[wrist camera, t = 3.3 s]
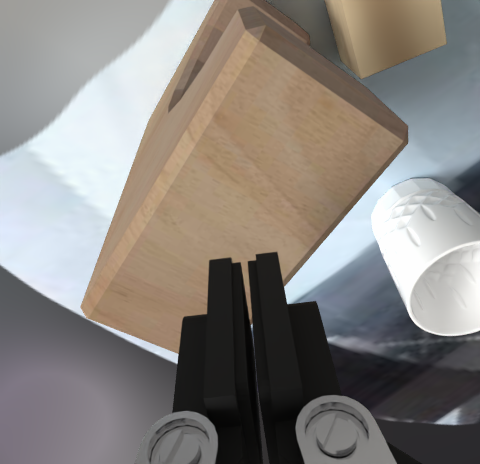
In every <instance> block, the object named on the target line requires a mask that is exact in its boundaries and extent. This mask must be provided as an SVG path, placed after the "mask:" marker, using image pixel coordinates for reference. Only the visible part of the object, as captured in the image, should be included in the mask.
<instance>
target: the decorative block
mask: <svg viewBox="0 0 480 464" xmlns="http://www.w3.org/2000/svg"><path fill="white" fill-rule="evenodd" d="M309 45H310V38H309V34H308V33H307V32H305V31H304V30H303V29H302V28H301V27H300V26H299V25H298V24H297V23H295V22H294V21H292V20H291V19H290V18H288V17H287V16H286V15H284V14H283V13H282V12H280V11H279V10H277V9H276V8H275V7H273V6H272V5H271V4H269V3H268V2H267V1H265V0H214V2H213V4H212V6H211V8H210V10H209V11H208V13H207V15H206V17H205V19H204V20H203V22H202V24H201V26H200V28H199V30H198V31H197V33H196V35H195V37H194V39H193V41H192V42H191V44H190V46H189V48H188V50H187V52H186V53H185V55H184V57H183V59H182V61H181V63H180V64H179V66H178V68H177V70H176V72H175V74H174V75H173V77H172V79H171V81H170V83H169V84H168V86H167V88H166V90H165V92H164V94H163V95H162V97H161V99H160V101H159V103H158V105H157V106H156V108H155V110H154V112H153V114H152V116H151V117H150V119H149V121H148V124H147V127H146V129H145V132H144V135H143V137H142V140H141V143H140V146H139V148H138V151H137V154H136V157H135V159H134V162H133V165H132V167H131V170H130V173H129V176H128V178H127V181H126V184H125V187H124V189H123V192H122V195H121V198H120V200H119V203H118V206H117V208H116V211H115V214H114V217H113V219H112V222H111V225H110V227H109V230H108V233H107V236H106V238H105V241H104V244H103V247H102V249H101V252H100V255H99V258H98V260H97V263H96V266H95V269H94V271H93V274H92V277H91V280H90V282H89V285H88V288H87V290H86V293H85V296H84V299H83V301H82V304H81V309H82V311H83V313H84V314H85V316H86V318H88V319H91V320H93V321H96V322H98V323H101V324H104V325H106V326H109V327H111V328H114V329H116V330H119V331H121V332H124V333H127V334H129V335H132V336H134V337H137V338H139V339H142V340H144V341H147V342H150V343H152V344H155V345H157V346H160V347H162V348H165V349H168V350H170V351H173V352H175V353H178V354H179V346H180V337H181V327H182V320H183V318H184V317H185V316H193V315H202V314H207V299H208V275H209V260H212V259H221V258H229V257H231V258H232V262H233V263H236V262H241V266H242V273H243V279H244V286H245V292H246V299H247V305H248V312H249V319H250V325H251V324H252V323H253V322H252V310H251V298H250V286H249V273H248V261H253V260H256V254H262V253H270V252H278V258H279V263H280V268H281V274H282V279H283V285H284V286H285V285H286V284H287V283H288V282H289V281H290V280H291V278H292V277H293V276H294V275H295V274H296V273H297V271H298V270H299V269H300V268H301V267H302V266H303V265H304V263H305V262H306V261H307V260H308V259H309V258H310V256H311V255H312V254H313V253H314V252H315V251H316V249H317V248H318V247H319V246H320V245H321V244H322V243H323V241H324V240H325V239H326V238H327V237H328V236H329V234H330V233H331V232H332V231H333V230H334V229H335V227H336V226H337V225H338V224H339V223H340V222H341V220H342V219H343V218H344V217H345V216H346V215H347V213H348V212H349V211H350V210H351V209H352V208H353V206H354V205H355V204H356V203H357V202H358V201H359V200H360V198H361V197H362V196H363V195H364V194H365V193H366V191H367V190H368V189H369V188H370V187H371V186H372V184H373V183H374V182H375V181H376V180H377V179H378V177H379V176H380V175H381V174H382V173H383V172H384V170H385V169H386V168H387V167H388V166H389V165H390V163H391V162H392V161H393V160H394V159H395V158H396V157H397V155H398V154H399V153H400V152H401V151H402V150H403V148H404V147H405V146H406V145H407V144H408V125H407V124H405V123H404V122H403V121H402V120H401V119H400V118H399V117H398V116H397V115H396V114H395V113H394V112H392V111H391V110H390V109H389V108H388V107H387V106H386V105H385V104H384V103H383V102H382V101H381V100H379V99H378V98H377V97H376V96H375V95H374V94H373V93H372V92H371V91H370V90H369V89H368V88H366V87H365V86H364V85H362V84H361V83H360V82H358V81H357V80H355V79H354V78H353V77H351V76H350V75H348V74H347V73H346V72H344V71H343V70H342V69H340V68H339V67H337V66H336V65H335V64H333V63H332V62H330V61H329V60H328V59H326V58H325V57H323V56H322V55H321V54H319V53H318V52H316V51H315V50H314V49H312V48H311V47H310V46H309Z"/></svg>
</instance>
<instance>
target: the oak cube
mask: <svg viewBox="0 0 480 464" xmlns="http://www.w3.org/2000/svg"><path fill="white" fill-rule="evenodd" d="M325 4H326V8H327V11H328V15H329V19H330V22H331V26H332V30H333V33H334V37H335V41H336V44H337V48H338V52H339V55H340V59H341V62H343V63H344V64H345V65H346V66H347V67H348V68H349V69H350V70H352V71H353V72H354V73H355V74H356V75H357V76H358V77H359V78H360V79H363V78H366V77H368V76H370V75H373V74H375V73H378V72H380V71H383V70H385V69H387V68H390V67H392V66H395V65H397V64H399V63H402V62H404V61H407V60H409V59H412V58H414V57H416V56H419V55H421V54H424V53H426V52H429V51H431V50H433V49H436V48H438V47H441V46H443V45H446V44H447V41H446V34H445V27H444V20H443V13H442V6H441V0H325Z"/></svg>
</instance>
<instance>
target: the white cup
mask: <svg viewBox="0 0 480 464" xmlns="http://www.w3.org/2000/svg"><path fill="white" fill-rule="evenodd" d="M371 218H372V230H373V233H374V235H375V237H376V239H377V242H378V244H379V246H380V250H381V253H382V256H383V258H384V260H385V262H386V264H387V267H388V270H389V272H390V274H391V276H392V278H393V280H394V283H395V285H396V287H397V289H398V291H399V293H400V295H401V298H402V300H403V302H404V304H405V306H406V309H407V311H408V313H409V315H410V317H411V319H412V320H413V321H414V323H415V324H416V325H418V326H419V327H420V328H422V329H423V330H425V331H427V332H430V333H433V334H437V335H443V336H458V335H465V334H470V333H473V332H477V331H480V213H478V212H477V211H476V210H475V209H473V208H472V207H471V206H470V205H469V204H468V203H466V202H465V201H464V200H462V199H461V198H460V197H458V196H456V195H455V194H454V193H453V192H452V191H451V190H450V189H449V188H447V187H446V186H445V185H443V184H441V183H439V182H437V181H435V180H433V179H430V178H416V179H409V180H406V181H404V182H402V183H399V184H397V185H395V186H392V187H391V188H390V189H389V190H388V191H387V192H386V193H385V194H384V195H383V196H382V197H381V198H380V199H379V200H378V202H377V204H376V206H375V208H374V211H373V213H372V215H371Z"/></svg>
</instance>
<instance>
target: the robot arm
mask: <svg viewBox="0 0 480 464" xmlns="http://www.w3.org/2000/svg"><path fill="white" fill-rule="evenodd" d="M248 273H249V286H250V298H251V310H252V322H253V335H254V346H253V338H252V332H251V325H250V319H249V312H248V305H247V299H246V292H245V286H244V279H243V273H242V266H241V262H236V263H233V262H232V258H231V257H229V258H221V259H212V260H209V275H208V299H207V314H202V315H193V316H185V317H184V318H183V320H182V327H181V337H180V346H179V356H178V365H177V374H176V384H175V394H174V403H173V412H172V414H170V415H167V416H165V417H163V418H162V419H160V420H159V421H157V422H156V423H155V424H153V426H152V427H151V428H150V429H149V430H148V432H147V433H146V434H145V436H144V438H143V441H142V443H141V445H140V448H139V451H138V454H137V457H136V460H135V464H263V456H262V444H261V431H260V418H259V406H258V393H257V383H258V392H259V399H260V406H261V412H262V419H263V425H264V431H265V438H266V444H267V450H268V456H269V463H270V464H421V463H420V462H418V461H416V460H415V459H413V458H411V457H410V456H409V455H407V454H405V453H404V452H402V451H401V450H399V449H397V448H396V447H394V446H393V445H391V444H389V443H388V442H386V441H385V439H384V437H383V435H382V433H381V431H380V429H379V428H378V425H377V423H376V422H375V419H374V418H373V417H372V415H371V414H370V412H369V411H368V410H367V409H366V408H365V407H364V406H362V405H361V404H360V403H359V402H357V401H355V400H353V399H350V398H348V397H345V396H342V395H341V391H340V387H339V383H338V380H337V376H336V372H335V368H334V365H333V361H332V357H331V353H330V350H329V346H328V342H327V338H326V335H325V331H324V327H323V323H322V320H321V316H320V312H319V309H318V305H317V303H316V301H313V302H304V303H296V304H287V301H286V296H285V290H284V285H283V279H282V274H281V268H280V263H279V258H278V252H270V253H262V254H256V260H253V261H248ZM254 347H255V356H254ZM255 359H256V368H255ZM256 371H257V381H256Z"/></svg>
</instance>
